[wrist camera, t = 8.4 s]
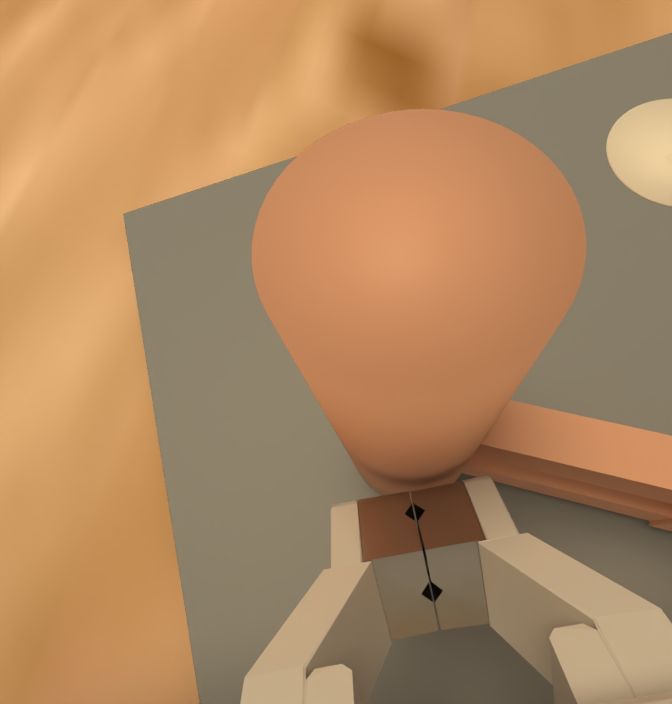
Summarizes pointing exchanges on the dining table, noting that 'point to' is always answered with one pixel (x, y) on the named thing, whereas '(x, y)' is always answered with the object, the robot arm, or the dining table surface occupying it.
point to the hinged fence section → (442, 309)
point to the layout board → (321, 439)
